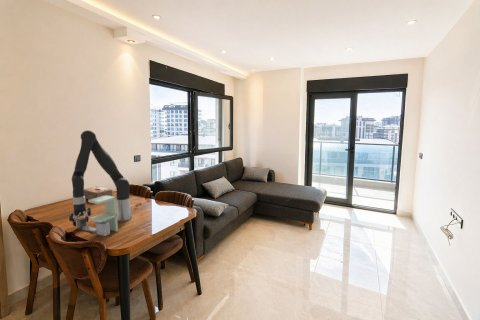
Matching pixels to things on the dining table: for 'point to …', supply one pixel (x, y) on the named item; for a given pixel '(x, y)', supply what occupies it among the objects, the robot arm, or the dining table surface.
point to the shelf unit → (107, 211)
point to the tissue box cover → (96, 192)
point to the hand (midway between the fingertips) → (80, 224)
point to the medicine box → (102, 228)
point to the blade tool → (84, 225)
